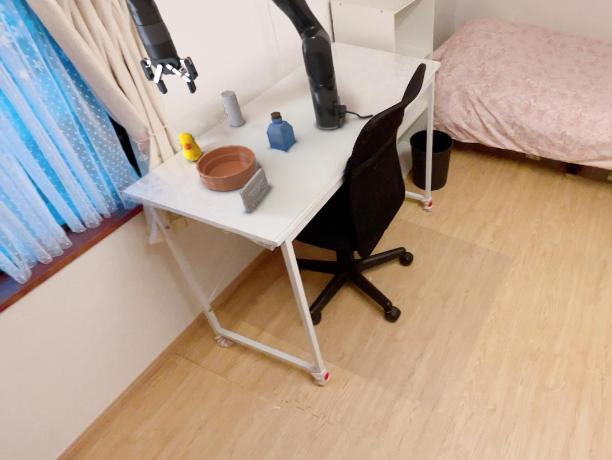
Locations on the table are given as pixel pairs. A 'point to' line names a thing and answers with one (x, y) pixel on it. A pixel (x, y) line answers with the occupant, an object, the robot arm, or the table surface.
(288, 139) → the perfume bottle
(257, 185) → the cassette
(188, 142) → the duckling
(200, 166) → the bowl
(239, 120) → the beverage can
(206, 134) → the table surface
